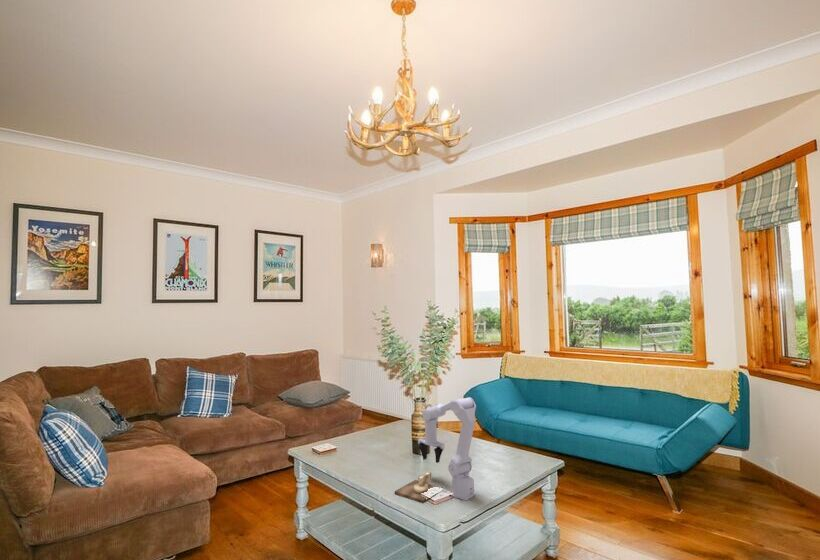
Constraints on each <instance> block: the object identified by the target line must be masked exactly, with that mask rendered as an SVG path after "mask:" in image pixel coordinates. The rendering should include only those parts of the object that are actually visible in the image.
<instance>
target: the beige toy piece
mask: <svg viewBox="0 0 820 560" xmlns="http://www.w3.org/2000/svg"><path fill="white" fill-rule="evenodd" d="M418 481H419V483H417V484H415V485H414V492H415V493H417V494H421V493H424V492H427V491H428V485H427V483H430V482H432V472H431V471H427V472H425V473H424V474H423V475H421V476H419V477H418Z"/></svg>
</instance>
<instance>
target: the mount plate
mask: <svg viewBox="0 0 820 560" xmlns="http://www.w3.org/2000/svg"><path fill="white" fill-rule="evenodd" d="M417 483H419V479H414V480H412V481H409V483H407V484H405V485H403V486H402V487H400V488H398V489H396V490H395V491H394V495H396V496H398V497H400V496H401V497H403V498H404V499H405V498H406V499H409V500H412V501H415V502H418V503H422V504H425V502H427V501H426V498H424V497H422V496H421V495H420V494H417V493H415V492H414V485H415V484H417ZM427 485H428V489H430V488H433V487H441V488H443V487H442V486H438V485H436V484H432V483H430V482H428V483H427ZM443 489H444V488H443Z"/></svg>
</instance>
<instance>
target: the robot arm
mask: <svg viewBox="0 0 820 560" xmlns="http://www.w3.org/2000/svg"><path fill="white" fill-rule="evenodd" d="M476 409H477V405H476V403H475V400H474V399H473V398H472V397H470V396H467V397H465V398H459V399H453V400H449V401H448V402H446V403H444V404H443V403H440V402H439V403H435V405H431V406H430V407H429V408H424V409H423V410H422V414H421V415H422V418H423V420H424V438H419V439H417V444H418V448H419V450H420V452H421V456H422V460H423V461H424V460H427V458H428V446H430V447H435V448H433V449H434V451H433V452H434V455H435V463H436V464H438V463H440V460H441V456H442V453H443V451H444V450H445V443H442V442H440V441H438V439H437V438H438V437H437V435H438V434H437V433H438V432H437V423H438V420H439V418H440V417H443V416H445V415H446V414H447V412H448V411H451V412H453V414H454V415H455V416H456V418H457V419H458V421H460V422H461V425H460V426H461V427H460V432H459V437H458V441H457V442H458V443H457V447H456V452H455V454H454V455H453V456H452V457H451V459H450V462H449V463H448V467H447V468H448V469H447V470H448V472H449V474H450V477H452V480H451V481H452V484H451V485H452V491H451V492H452V493H453V495H454V497H453V498H456V499H460V500H463V501H468V500H470V499H471V498H473V496H475V495H476V493H475V479H474V478H473V477H472V476H470V472H471V471H472V468H473V467H472V466H473V465H472V458H471V456H470V455H469V453H470V449H471V444H472V439H473V433H474V430H475V429H474V428H475V424H476V418H475V417H476V415H475V414H476Z"/></svg>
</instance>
